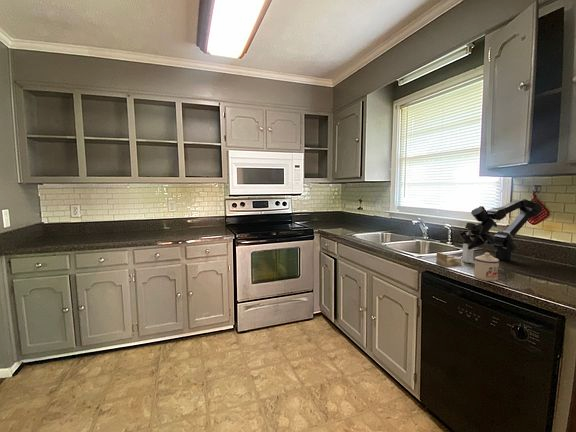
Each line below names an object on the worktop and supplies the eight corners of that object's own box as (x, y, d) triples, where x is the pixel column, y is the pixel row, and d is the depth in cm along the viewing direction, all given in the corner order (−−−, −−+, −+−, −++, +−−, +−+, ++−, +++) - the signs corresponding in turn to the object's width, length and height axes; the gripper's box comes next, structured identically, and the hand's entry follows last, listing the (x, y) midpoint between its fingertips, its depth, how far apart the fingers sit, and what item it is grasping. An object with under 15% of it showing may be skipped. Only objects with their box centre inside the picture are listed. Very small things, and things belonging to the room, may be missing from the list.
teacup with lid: (488, 282, 120) (490, 256, 119) (468, 276, 129) (470, 251, 128) (507, 279, 124) (509, 253, 123) (487, 273, 133) (489, 249, 132)
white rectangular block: (468, 260, 154) (469, 243, 153) (472, 262, 152) (473, 244, 151) (462, 261, 154) (463, 243, 153) (466, 262, 151) (467, 244, 150)
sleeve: (452, 261, 154) (452, 251, 153) (461, 264, 148) (461, 253, 148) (436, 263, 152) (436, 252, 151) (444, 266, 146) (445, 254, 145)
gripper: (461, 215, 160) (444, 235, 159) (491, 219, 142) (472, 241, 141) (472, 228, 163) (455, 248, 161) (503, 233, 145) (484, 256, 143)
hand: (466, 248), depth 152 cm, fingers closed on white rectangular block, 3 cm apart
